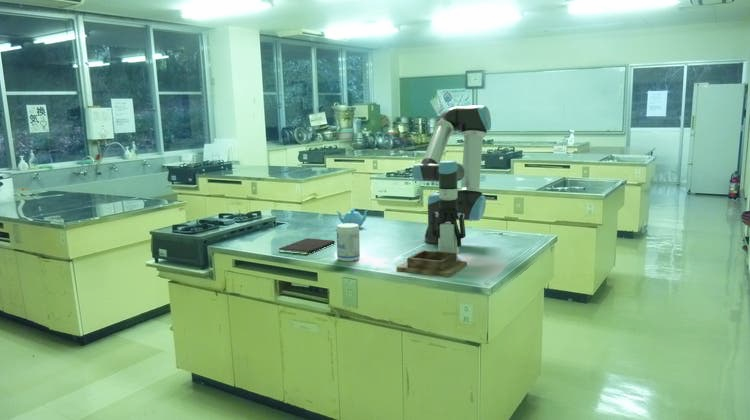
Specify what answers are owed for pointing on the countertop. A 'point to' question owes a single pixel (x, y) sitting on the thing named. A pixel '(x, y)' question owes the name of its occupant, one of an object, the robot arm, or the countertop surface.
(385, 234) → the countertop surface
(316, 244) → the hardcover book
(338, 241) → the supplement tub
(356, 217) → the teapot
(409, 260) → the bottle stand
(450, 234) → the skincare box
